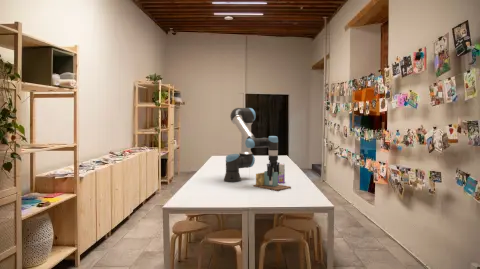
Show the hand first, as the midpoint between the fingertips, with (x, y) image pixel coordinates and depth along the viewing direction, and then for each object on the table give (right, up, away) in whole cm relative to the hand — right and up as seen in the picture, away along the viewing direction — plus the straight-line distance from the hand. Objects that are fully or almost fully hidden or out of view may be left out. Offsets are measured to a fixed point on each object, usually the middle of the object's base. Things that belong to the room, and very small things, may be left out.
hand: (273, 184), depth 289 cm
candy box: (+5, -2, +21) cm, 21 cm away
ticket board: (-1, -3, +1) cm, 3 cm away
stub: (-2, -1, +2) cm, 3 cm away
